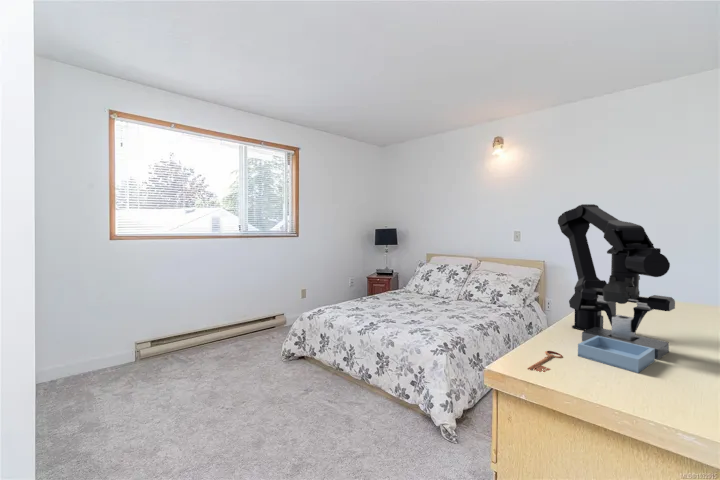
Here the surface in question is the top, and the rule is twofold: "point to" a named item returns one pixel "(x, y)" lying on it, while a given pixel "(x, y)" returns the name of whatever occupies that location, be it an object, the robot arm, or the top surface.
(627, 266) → the robot arm
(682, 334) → the top surface
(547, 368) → the key
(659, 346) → the gray square hole plate
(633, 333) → the small speaker box
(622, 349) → the parts tray
